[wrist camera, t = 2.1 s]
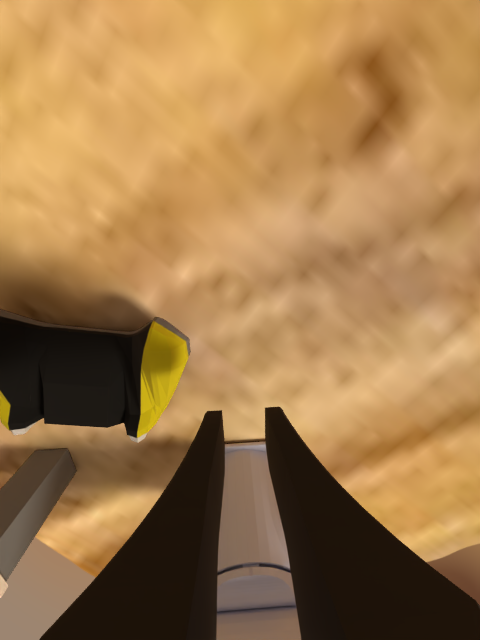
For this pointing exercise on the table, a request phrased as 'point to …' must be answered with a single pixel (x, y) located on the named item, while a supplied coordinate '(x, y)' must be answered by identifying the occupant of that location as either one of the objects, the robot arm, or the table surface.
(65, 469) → the posts
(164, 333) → the black yellow sneaker
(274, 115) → the table surface
